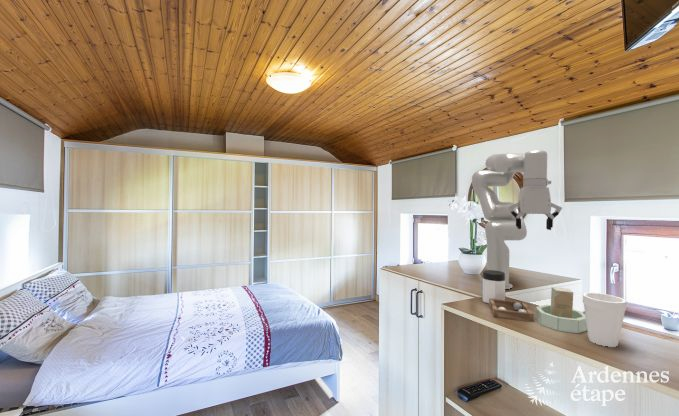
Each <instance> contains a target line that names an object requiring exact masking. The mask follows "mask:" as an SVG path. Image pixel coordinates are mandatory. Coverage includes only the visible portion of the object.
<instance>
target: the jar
mask: <svg viewBox="0 0 679 416" xmlns="http://www.w3.org/2000/svg"><path fill="white" fill-rule="evenodd" d="M481 278H482V283H481V284H482V285H481V288H482V289H481V290H482V291H481V295H482V296H481V300H482V303H485V304H489V299H497V300H506V290H505V273H504V272H501V271H495V270H487V269H484V270H483V271H482V276H481Z"/></svg>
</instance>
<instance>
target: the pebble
mask: <svg viewBox="0 0 679 416" xmlns="http://www.w3.org/2000/svg"><path fill="white" fill-rule="evenodd" d="M519 302H520V301H517V302H516V303H514V305H513V307H514V311H518V310H520V309H522V308H523V307H522V304H521V303H519Z"/></svg>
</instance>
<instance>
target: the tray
mask: <svg viewBox="0 0 679 416" xmlns="http://www.w3.org/2000/svg"><path fill="white" fill-rule="evenodd" d="M516 302H519V303H521V304H522V307H523V308H522V309H524V310H526V311H527V312H518V311H517V310H515V309H514V307H513V305H514V303H516ZM488 304H489V308H490V310H491V312H492V315H493V317H494V318H499V319H508V320H517V321H524V322H534V321H535V315H534V314H535V313H534V312H533V311H532V310H531V309H530V308H529V306H528V304H527V303H526V302H523V301H515V300H506V299H505V300H497V299H489V303H488ZM499 307H504V308H505V309H506V310H500V309H498V308H499ZM507 309H512V310H507ZM513 309H514V310H513Z"/></svg>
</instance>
